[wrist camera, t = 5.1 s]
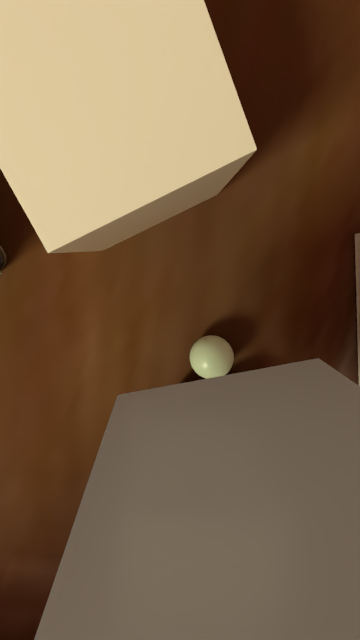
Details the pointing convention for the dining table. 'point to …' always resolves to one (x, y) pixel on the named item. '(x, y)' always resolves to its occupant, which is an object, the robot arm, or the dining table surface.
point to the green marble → (211, 357)
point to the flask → (2, 259)
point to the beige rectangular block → (114, 116)
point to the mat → (358, 293)
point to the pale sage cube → (220, 514)
